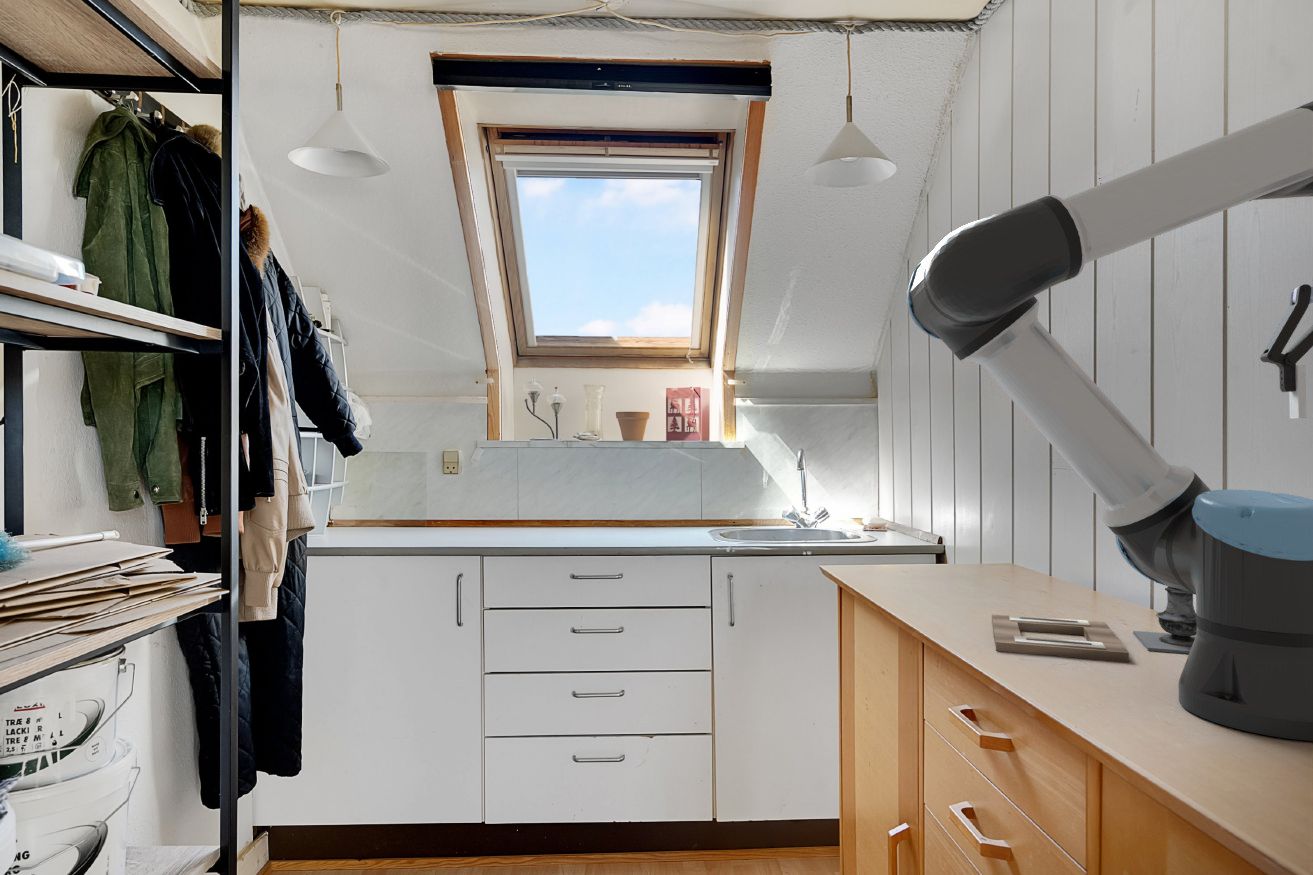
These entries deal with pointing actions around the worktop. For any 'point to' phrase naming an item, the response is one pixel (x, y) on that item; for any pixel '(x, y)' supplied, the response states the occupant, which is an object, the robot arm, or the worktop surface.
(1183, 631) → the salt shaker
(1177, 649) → the rubber mat
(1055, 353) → the robot arm
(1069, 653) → the label board
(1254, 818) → the worktop surface
